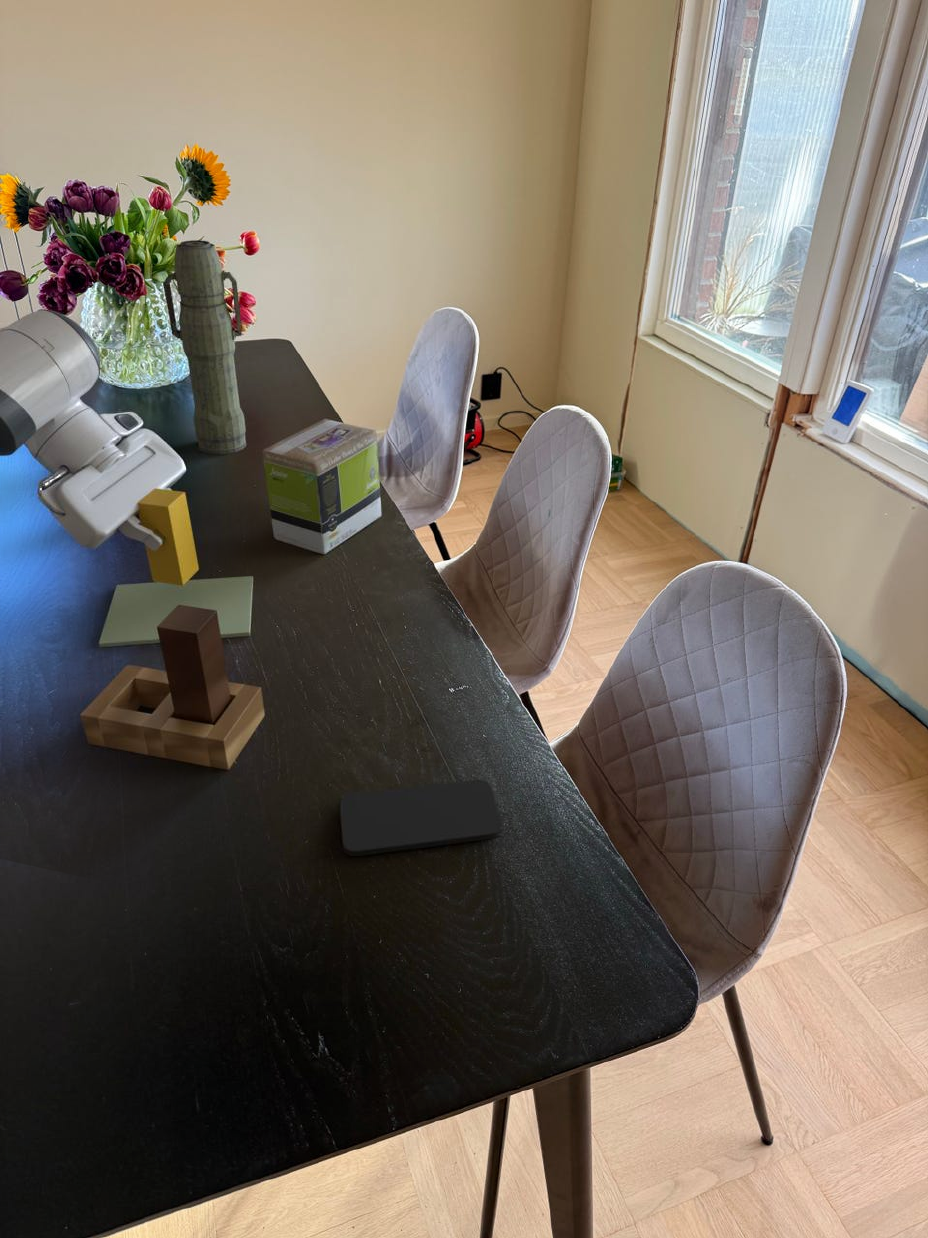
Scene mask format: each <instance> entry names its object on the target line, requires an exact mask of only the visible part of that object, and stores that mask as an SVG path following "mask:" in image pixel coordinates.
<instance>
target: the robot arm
mask: <svg viewBox="0 0 928 1238" xmlns="http://www.w3.org/2000/svg"><path fill="white" fill-rule="evenodd" d="M100 376H101V356H100V352H99V349H98V346H97V344H96V342H95V341H94V340H93V338H92V337H91V335H90V334H88V332H87V331H86V330H85V329H84V328H83V327H82V326H81V325H80V324H78V323H77V322H76V321H75V320H73V319H72V318H70V317H69V316H67V315H64V314H63V313H61V312H58V311H54V310H51V309H45V308H41V309H38V310H36V311H33V312H30V313H28V314H25V315H24V316H22V317H21V318H19V319H17V320H16V321H14V322H13V323H11V324H9V325H6V326H5V327H0V457H6V456H11V455H13V454H15V452H16V451H18V450H19V449H20V448H21V447H22V446H23V445H24V446H25V447H26V448H27V450H28V452H29V453H30V454H31V456H32V458H33V459H35V460H36V461H37V462H38V463H39V464H40V465H41V466H43V467H44V468H45V469H46V470H47V472H49V473H50V474H49V475H47V476H46V477H44V478H42V479H40V480H39V482H38V483H37V490H36V491H37V492H36V494H37V499H38V500H39V501H40V502H41V504H42V505H44V506H45V507H46V508H47V509H48V510H49V512H50V513H51V514H52V516H53V517H54V519H55V520H56V521H57V522H58V523H59V525H60V526H61V527H62V528H63V529H64V530H65V532H67V534H69V535H70V537H71V538H72V539H73V540H74V541H76V543H78V544H79V545H80V546H81V547H83V548H86V549H89V550H96V549H97V548H99V546H101V545H102V544H103V543H104V542H106V541H107V540H108V539H109V538H110V537H112V536H113V535H114V534H115V533H117V531H119V532H120V533H121V534H122V535H123V536H125V537H126V538H128V539H132V540H135V541H138V542H141V543H143V544H144V545H145V544H146V545H147V546H148V547H149V548H150V549H151V550H153V551H156V550H157V549H158V548H159V547H160V546H161V545H162V544H163V543H164V542H165V541H166V538H165V536H164V535H162V534H161V533H160V532H159V531H158V530H157V529H155V530H154V531H151V530H149V529H147V528H145V527H143V526H141V523H140V519H139V518H137V515H139V514H138V510H139V509H140V506H139V505H138V503H137V502H139V501H140V500H141V499H142V498H144V497H145V496H146V495H147V494H149V493H150V492H151V491H152V490H154V489H155V488H156V489H164V490H169V488H170V489H171V487H172V486H174V485H175V484H176V483H177V482H178V481H179V480H180V479H181V478H182V477H183V476H184V474H185V473H186V472H187V468H186V464H185V462H184V460H183V458H182V457H181V456H180V455H179V454H178V453H177V452H176V451H175V450H174V449H173V448H172V447H171V446H170V445H169V444H168V443H167V442H166V441H164V439H163V438H162V437H161V436H159V435H158V434H157V433H156V432H154V431H152V430H150V429H148V428H142V427H143V425H144V421H143V419H142V418H141V417H140V416H139V415H138V414H137V413H136V412H133V411H124V412H118V413H117V412H116V413H100V414H98V413H97V412H96V411H95V410H94V409H93V408H92V407H90V406H89V405H87V404H85V403H84V401H82V399H81V397H82V396H83V395H85V394H86V393H88V392H89V391H90V390H91V389H92V388H93V386H94V385H95V384H96V382H97V381H98V380H99V378H100Z"/></svg>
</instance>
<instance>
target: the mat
mask: <svg viewBox="0 0 928 1238" xmlns="http://www.w3.org/2000/svg"><path fill="white" fill-rule="evenodd" d="M253 591H254V576H253V575H249V576H232V577H231V576H230V577H218V578H217V577H216V578H203V579H202V578H201V579H189V580H188V581H187V582H186V583H185V584H184V585H183V586H182V585H175V584H168V583H161V582H141V583H140V582H139V583H125V584H116V587H115V590H114V593H113V596H112V599H111V603H110V606H109V608H108V612H107V616H106V619H105V621H104V625H103V628H102V631H101V635H100V638H99V641H98V648H112V647H122V646H124V647H125V646H137V645H149V644H160V640H159V635H158V630H157V626H158V625H159V624H160V623H161V622H162V621H163V620H164V619H165V618H166V617H167V616H168V615H169V614H170V613H171V612H172V611H173V610H174V609H175V607H176V606H177V605H185V606H191V607H198V608H204V609H211V610H217V615H218V621H219V627H220V634H221V639H228V638H242V637H250V636H251V628H252V627H251V624H252V607H253Z"/></svg>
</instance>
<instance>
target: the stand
mask: <svg viewBox="0 0 928 1238" xmlns="http://www.w3.org/2000/svg"><path fill="white" fill-rule="evenodd" d="M228 684H229V690H230V696H231V703H230V705H229V706H228V708H227V709H226V710H225V712H224V713H223V714H222V716H221V717H220V719H219V720H218V721H217V723H216V724H215V725H210V724H204V723H199V722H193V721H188V720H182V719H176V717H175V712H174V707H173V702H172V697H171V693H170V688H169V683H168V678H167V674H166V670H162V669H155V668H149V667H143V666H138V665H132V664H127V665H125V667H123V669H122V670H121V671H120V672H119V673H118V674H117V675H116V676H115V678H113V680H111V682H110V683H109V684H107V686H105V688H104V689H103V690H102V691H101V692H100V693H99V694H98V695H97V696H96V697H95V698H94V700H93V701H92V702H91V703H90V704H89V705H88V706H87V707H86V708H85V709H84V710H82V712H81V713H80V714H79V716H80V719H81V723H82V726H83V730H84V733H85V734H84V735H85V737H86V740H87V743H88V745H92V746H98V747H103V748H110V749H114V750H120V751H125V752H129V753H135V754H141V755H145V756H150V757H155V758H162V759H167V760H172V761H178V762H182V763H187V764H192V765H198V766H199V765H200V766H204V767H208V768H210V767H211V768H215V769H220V770H226V771H229V770H230V769H231V767H232V766H233V764H234V763H235V762H236V759H237V758H238V757H239V755H240V754H241V752H242V751H243V749H244V748H245V746H246V744H247V743H248V741H249V740H250V739H251V737H252V736H253V734H254V732H256V730H257V728H258V726H259V725H260V724H261V722H262V720H263V719H264V717H265V716H266V715H265V708H264V699H263V692H262V687H260V686H256V685H249V684H244V683H237V682H231V681H228ZM141 707H142V708H148V709H149V708H150V709H155V710H154V711H153V712H152V713H148V712H142V711H138V710H139V709H140V708H141Z"/></svg>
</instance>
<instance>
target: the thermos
mask: <svg viewBox="0 0 928 1238" xmlns="http://www.w3.org/2000/svg"><path fill="white" fill-rule="evenodd" d="M173 257H174V262H173V266H174V272H173V273H169V274H167V277H166V278H165V279H164V281H163V283H162V286H163V287H162V288H163V292H164V297H165V301H166V307H167V312H168V318H169V323H170V331H171V334H172V335H173V336H174V337H175V338H176V339H178V340H179V339H180V341H181V344H182V350H183V353H184V355H185V356H186V358H187V365H188V372H189V377H190V385H191V391H192V397H193V404H194V411H193V418H192V419H193V423H194V424H193V425H194V430H195V437H197V442H198V443H197V444H198V449H199V450H200V451H201V452H202V453H205V454H208V455H209V454H210V455H217V456H218V455H221V456H223V455H230V454H234V453H237V452H240V451H242V450H243V449H245V448H246V447H247V440H246V432H247V429H246V421H245V415H244V412H243V410H242V408H241V405H240V398H239V389H238V380H237V374H236V366H235V358H234V357H235V351H236V342H235V340H236V339H237V337H241V336H243V335H242V334H243V331H242V330H243V329H242V316H241V309H240V308H241V307H240V301H239V299H240V298H239V292H238V291H239V290H238V283H237V279H236V278H235V277H234V276H233V274H232V273H231V272H230V271H225V270H224V269H223V266H222V260H221V258H220V255H219V253H218V250H217V249H216V246H215V244H214V243H212V242H211V243H210V241H208V240H199V239H198V240H197V239H194V240H193V239H192V240H184V241H181V242H180V243H179V244H177V245H175V251H174V256H173ZM227 279H229V281H230V282H231V289H232V297H233V298H232V299H233V306H234V314H235V323H236V327H235V326H234V325H233V318H232V316H231V314H230V311H229V308H228V306H227V300H226V299H225V293H226V290H225V289H226V288H225V281H226V280H227ZM173 280H174V281H175V282H176V286H177V287H176V288H177V293H178V295H179V297H180V301H179V307H180V310H179V315H178V316H179V317H178V324H179V329H178V326H177V317H176V312H175V307H174V301H173V300H174V299H173V293H172V287H171V282H172V281H173Z"/></svg>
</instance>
